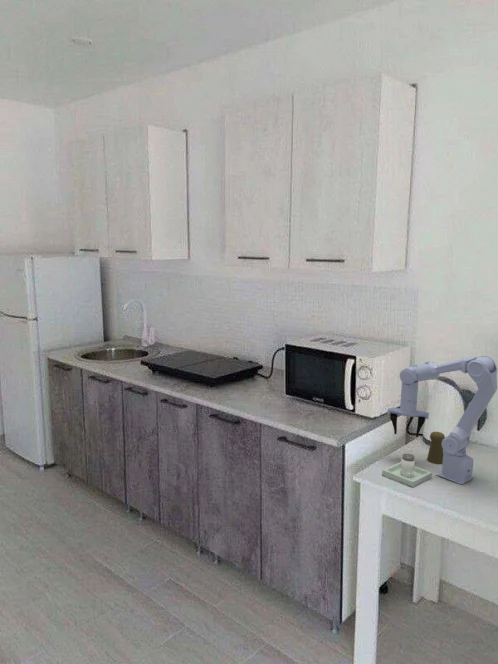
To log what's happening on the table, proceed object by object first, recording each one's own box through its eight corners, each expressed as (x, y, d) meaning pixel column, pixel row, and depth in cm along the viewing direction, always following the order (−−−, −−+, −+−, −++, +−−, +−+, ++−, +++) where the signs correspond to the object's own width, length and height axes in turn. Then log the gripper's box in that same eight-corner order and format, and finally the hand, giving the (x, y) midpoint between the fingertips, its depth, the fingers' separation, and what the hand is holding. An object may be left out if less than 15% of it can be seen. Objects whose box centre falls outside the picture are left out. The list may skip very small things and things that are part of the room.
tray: (431, 477, 181) (432, 472, 180) (412, 487, 173) (413, 482, 172) (401, 466, 189) (401, 461, 189) (382, 475, 182) (382, 469, 181)
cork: (446, 464, 192) (448, 435, 191) (429, 463, 193) (432, 435, 191) (440, 457, 198) (443, 430, 197) (424, 457, 199) (427, 429, 197)
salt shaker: (416, 475, 181) (417, 456, 180) (408, 479, 178) (410, 460, 177) (405, 470, 184) (406, 452, 183) (397, 474, 181) (399, 455, 180)
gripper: (429, 398, 192) (426, 433, 194) (389, 394, 196) (386, 428, 199) (429, 403, 185) (426, 440, 187) (387, 399, 190) (385, 434, 192)
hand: (406, 434), depth 192 cm, fingers open, 7 cm apart
